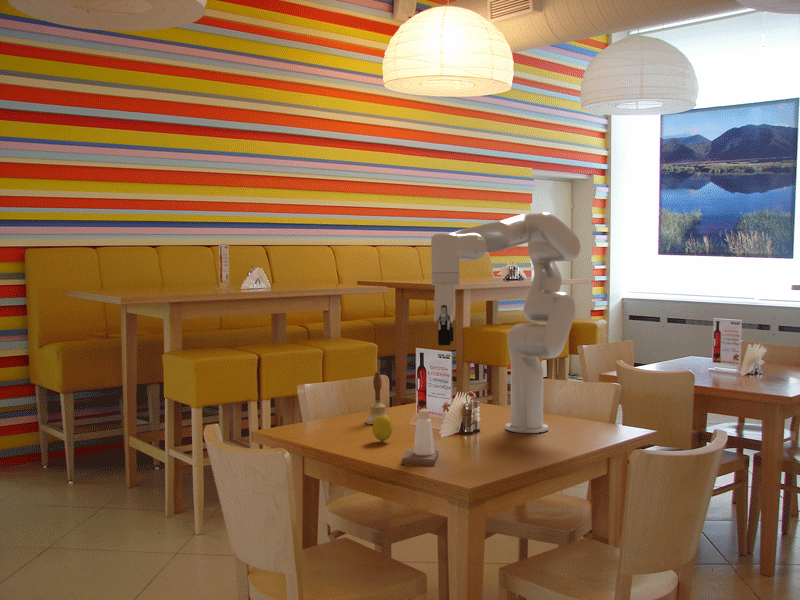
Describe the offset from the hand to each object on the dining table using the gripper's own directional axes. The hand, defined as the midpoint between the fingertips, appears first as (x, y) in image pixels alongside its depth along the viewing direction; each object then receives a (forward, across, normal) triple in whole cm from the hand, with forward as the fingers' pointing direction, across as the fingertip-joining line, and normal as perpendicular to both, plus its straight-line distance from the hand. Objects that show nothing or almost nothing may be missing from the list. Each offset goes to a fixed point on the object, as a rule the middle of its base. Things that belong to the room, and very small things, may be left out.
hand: (445, 343), depth 206 cm
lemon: (+28, -3, -18) cm, 34 cm away
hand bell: (+28, -30, -24) cm, 48 cm away
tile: (+28, +10, -5) cm, 30 cm away
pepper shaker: (+27, +14, -4) cm, 31 cm away
